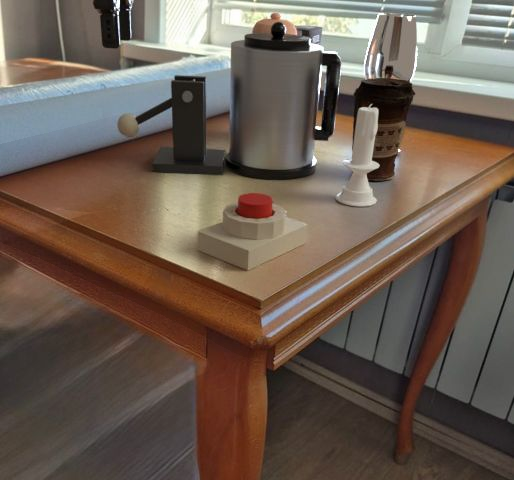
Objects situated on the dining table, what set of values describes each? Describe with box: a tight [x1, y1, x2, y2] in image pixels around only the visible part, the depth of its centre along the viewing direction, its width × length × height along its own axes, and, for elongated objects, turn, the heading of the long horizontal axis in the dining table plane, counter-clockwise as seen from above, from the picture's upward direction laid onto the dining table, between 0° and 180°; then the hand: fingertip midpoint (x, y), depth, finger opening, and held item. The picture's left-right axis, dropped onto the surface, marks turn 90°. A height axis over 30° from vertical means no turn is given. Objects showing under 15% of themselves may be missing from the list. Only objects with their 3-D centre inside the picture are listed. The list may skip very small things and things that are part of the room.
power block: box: [197, 201, 309, 272], centre depth 65 cm, size 10×7×4 cm
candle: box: [335, 104, 380, 208], centre depth 77 cm, size 5×5×12 cm
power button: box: [237, 192, 274, 219], centre depth 63 cm, size 4×4×2 cm
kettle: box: [225, 22, 342, 181], centre depth 86 cm, size 16×14×19 cm
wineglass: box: [363, 12, 418, 155], centre depth 96 cm, size 8×8×20 cm
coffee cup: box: [350, 78, 416, 181], centre depth 86 cm, size 9×8×13 cm
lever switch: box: [116, 79, 195, 138], centre depth 86 cm, size 13×3×3 cm, turn 91°
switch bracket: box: [151, 74, 226, 176], centre depth 87 cm, size 10×9×12 cm
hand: (117, 43), depth 82 cm, fingers open, 8 cm apart
